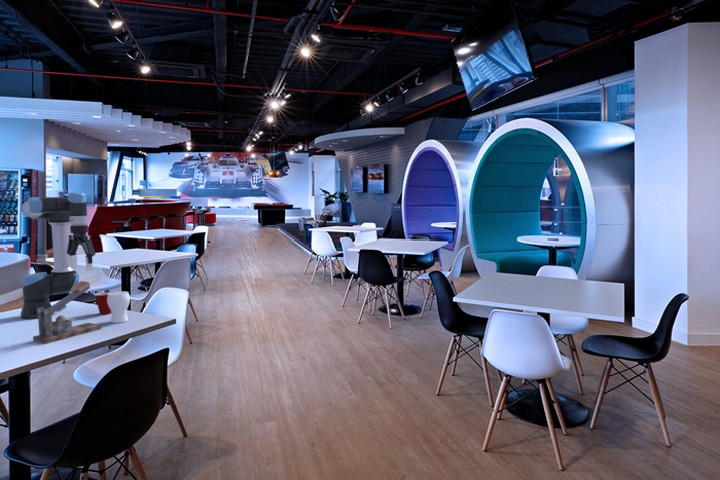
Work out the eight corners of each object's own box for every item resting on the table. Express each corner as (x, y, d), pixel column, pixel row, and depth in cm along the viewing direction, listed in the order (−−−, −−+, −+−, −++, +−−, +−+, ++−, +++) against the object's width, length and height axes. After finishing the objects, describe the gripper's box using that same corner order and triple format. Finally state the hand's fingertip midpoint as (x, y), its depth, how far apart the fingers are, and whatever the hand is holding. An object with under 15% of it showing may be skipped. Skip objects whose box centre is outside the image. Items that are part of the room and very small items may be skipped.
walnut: (54, 324, 222) (53, 316, 221) (62, 322, 225) (62, 314, 225) (59, 325, 220) (58, 317, 219) (68, 323, 223) (67, 315, 223)
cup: (104, 322, 247) (102, 294, 246) (122, 317, 257) (120, 290, 255) (117, 324, 242) (115, 296, 241) (135, 319, 252) (133, 292, 250)
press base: (45, 343, 212) (43, 311, 210) (33, 340, 216) (30, 308, 215) (100, 329, 235) (98, 299, 233) (88, 326, 239) (86, 297, 238)
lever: (50, 319, 215) (45, 311, 213) (43, 317, 218) (37, 309, 216) (93, 289, 233) (88, 282, 230) (85, 288, 235) (81, 281, 233)
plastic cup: (111, 310, 273) (110, 289, 272) (119, 312, 267) (118, 292, 265) (91, 313, 265) (90, 292, 264) (99, 316, 258) (98, 295, 257)
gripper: (56, 224, 230) (59, 268, 232) (86, 225, 219) (89, 272, 221) (71, 223, 237) (74, 266, 239) (101, 224, 226) (104, 269, 228)
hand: (81, 269), depth 230 cm, fingers open, 11 cm apart
